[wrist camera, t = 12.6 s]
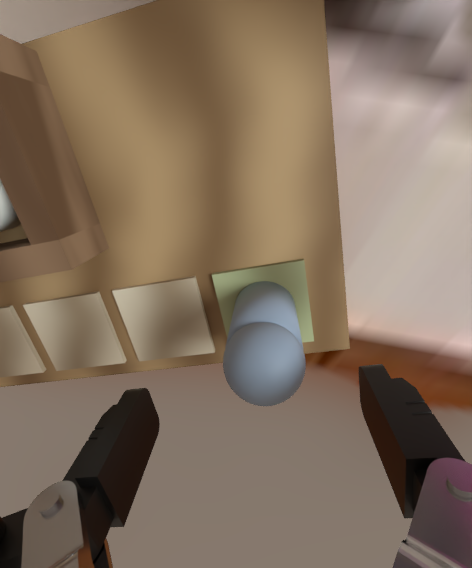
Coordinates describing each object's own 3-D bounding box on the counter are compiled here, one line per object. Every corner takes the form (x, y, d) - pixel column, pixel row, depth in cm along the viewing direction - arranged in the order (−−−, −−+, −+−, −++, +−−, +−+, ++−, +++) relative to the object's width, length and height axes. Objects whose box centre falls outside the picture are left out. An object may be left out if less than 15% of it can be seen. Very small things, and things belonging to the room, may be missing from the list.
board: (-30, 382, 23) (-95, 430, 19) (-198, 125, 17) (-351, 115, 13) (345, 339, 19) (368, 390, 15) (315, -37, 12) (341, -136, 8)
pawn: (238, 336, 18) (224, 426, 12) (230, 284, 17) (209, 355, 11) (297, 332, 17) (312, 424, 11) (293, 278, 16) (308, 349, 10)
